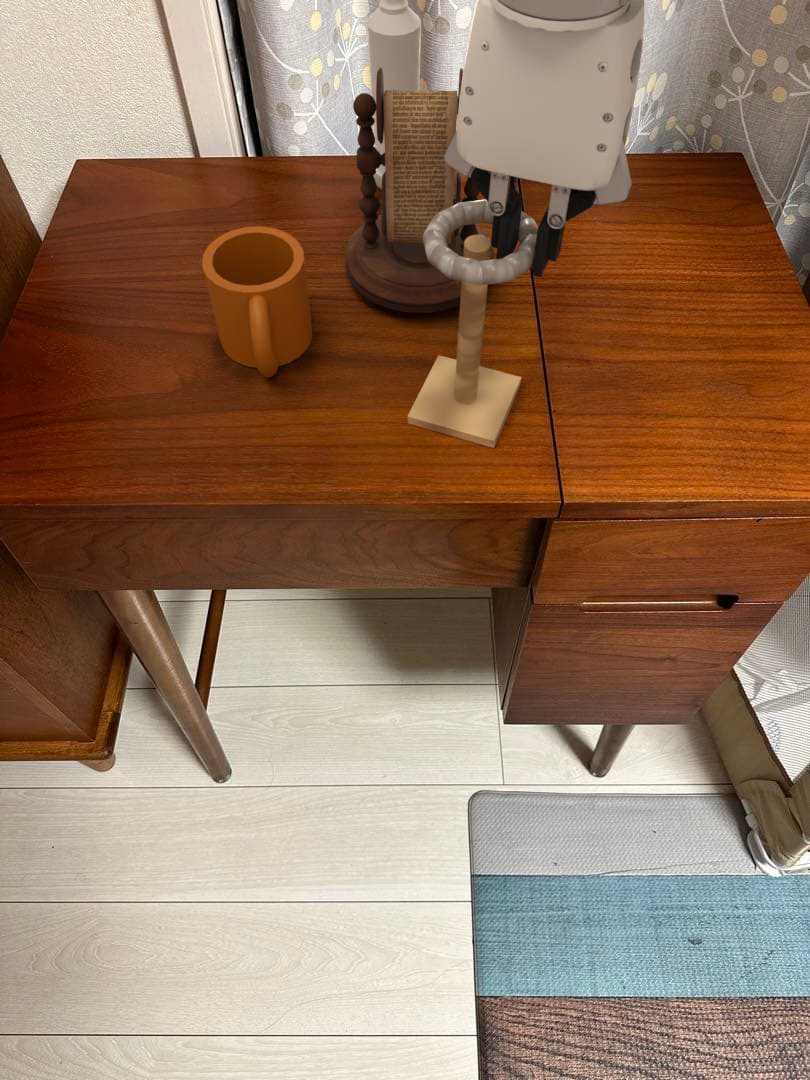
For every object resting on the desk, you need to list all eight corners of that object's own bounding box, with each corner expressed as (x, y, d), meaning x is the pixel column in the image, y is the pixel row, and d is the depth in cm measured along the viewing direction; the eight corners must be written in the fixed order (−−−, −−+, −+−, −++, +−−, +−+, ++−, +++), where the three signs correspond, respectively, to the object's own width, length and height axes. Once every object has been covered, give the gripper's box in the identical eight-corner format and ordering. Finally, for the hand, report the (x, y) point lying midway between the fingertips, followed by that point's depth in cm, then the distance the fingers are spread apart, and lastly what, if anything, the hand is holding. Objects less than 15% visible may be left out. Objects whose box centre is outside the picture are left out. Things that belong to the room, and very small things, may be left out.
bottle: (373, 167, 92) (362, -97, 71) (419, 166, 92) (421, -97, 71) (373, 194, 89) (361, -72, 68) (419, 194, 89) (422, -72, 68)
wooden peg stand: (520, 384, 74) (546, 222, 60) (493, 448, 70) (514, 290, 56) (438, 362, 75) (444, 199, 61) (407, 423, 71) (406, 264, 57)
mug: (205, 392, 74) (182, 315, 66) (229, 303, 80) (210, 223, 73) (303, 396, 73) (291, 320, 66) (319, 306, 80) (310, 227, 72)
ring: (553, 228, 60) (556, 209, 59) (521, 300, 56) (523, 281, 54) (446, 205, 62) (446, 186, 60) (407, 273, 58) (406, 254, 56)
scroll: (341, 323, 78) (322, 122, 62) (351, 227, 86) (337, 26, 70) (494, 326, 78) (517, 124, 61) (490, 229, 86) (509, 27, 69)
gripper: (727, -39, 43) (645, 253, 58) (444, -81, 46) (437, 206, 62) (702, 26, 39) (621, 320, 55) (396, -24, 42) (401, 267, 58)
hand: (524, 258), depth 58 cm, fingers closed on ring, 2 cm apart
